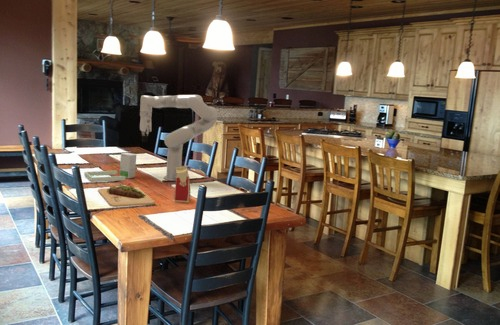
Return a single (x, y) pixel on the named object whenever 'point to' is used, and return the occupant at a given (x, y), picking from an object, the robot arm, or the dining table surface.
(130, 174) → the skincare box
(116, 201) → the cutting board
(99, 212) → the dining table surface
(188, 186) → the milk carton
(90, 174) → the open-sided frame
